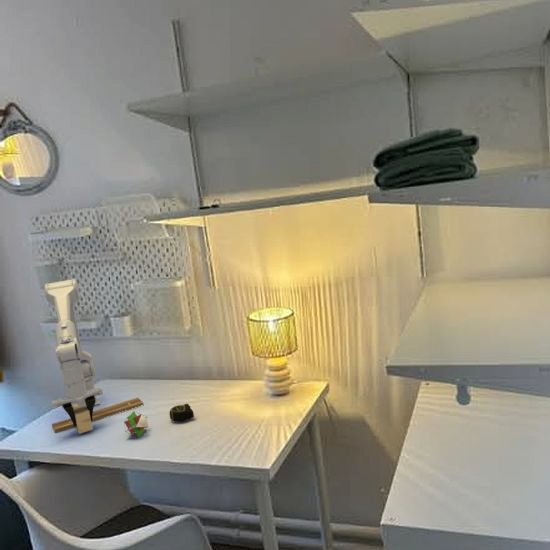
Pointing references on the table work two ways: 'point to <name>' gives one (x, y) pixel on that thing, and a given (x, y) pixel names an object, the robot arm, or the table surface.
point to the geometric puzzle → (136, 424)
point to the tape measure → (181, 413)
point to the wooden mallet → (82, 418)
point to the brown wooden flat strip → (100, 413)
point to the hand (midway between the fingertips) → (83, 423)
